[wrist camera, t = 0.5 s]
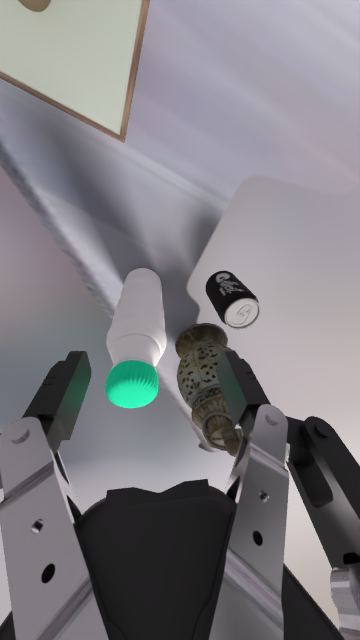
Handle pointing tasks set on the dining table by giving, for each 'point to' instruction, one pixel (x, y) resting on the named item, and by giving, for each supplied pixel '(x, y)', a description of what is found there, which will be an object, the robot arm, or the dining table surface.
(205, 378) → the lantern
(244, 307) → the beverage can
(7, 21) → the lid
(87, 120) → the box
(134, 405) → the water bottle
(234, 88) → the dining table surface
